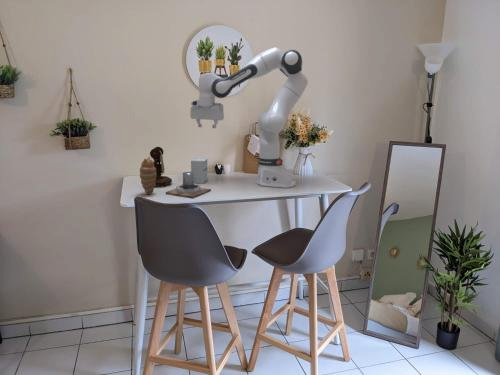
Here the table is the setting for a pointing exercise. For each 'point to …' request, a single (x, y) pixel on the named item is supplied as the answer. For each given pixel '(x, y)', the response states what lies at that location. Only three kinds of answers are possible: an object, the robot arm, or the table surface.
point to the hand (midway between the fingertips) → (207, 127)
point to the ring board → (203, 190)
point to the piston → (188, 180)
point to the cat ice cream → (148, 175)
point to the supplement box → (199, 170)
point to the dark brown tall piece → (159, 166)
